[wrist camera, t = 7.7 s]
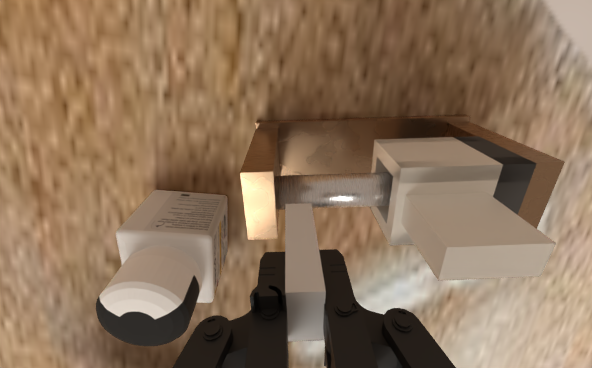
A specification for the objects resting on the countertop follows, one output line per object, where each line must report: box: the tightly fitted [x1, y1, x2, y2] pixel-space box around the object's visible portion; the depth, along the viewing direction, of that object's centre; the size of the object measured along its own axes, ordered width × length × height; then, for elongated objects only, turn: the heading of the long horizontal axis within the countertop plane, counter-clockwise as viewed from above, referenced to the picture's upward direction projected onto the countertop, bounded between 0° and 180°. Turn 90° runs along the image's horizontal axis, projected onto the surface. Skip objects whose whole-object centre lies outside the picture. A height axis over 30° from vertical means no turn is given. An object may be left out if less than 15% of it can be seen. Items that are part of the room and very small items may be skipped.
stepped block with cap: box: [370, 137, 556, 281], centre depth 18 cm, size 6×6×11 cm
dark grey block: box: [454, 136, 537, 215], centre depth 20 cm, size 2×6×6 cm, turn 1°
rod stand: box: [240, 115, 564, 240], centre depth 23 cm, size 20×6×11 cm, turn 91°
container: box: [96, 190, 228, 346], centre depth 26 cm, size 8×8×13 cm
